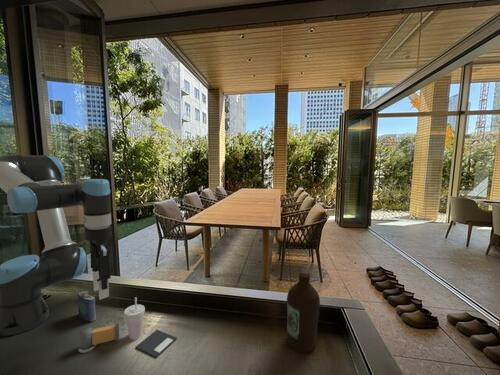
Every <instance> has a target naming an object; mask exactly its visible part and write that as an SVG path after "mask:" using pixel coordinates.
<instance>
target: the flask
mask: <svg viewBox="0 0 500 375" xmlns="http://www.w3.org/2000/svg"><path fill="white" fill-rule="evenodd" d="M77 303H78V304H77V305H78V307H77V308H78V318H79V319H80V320H83V321H85V322H87V323H94V322H96V320H97V314H96V313H97V312H96V297H95V296H93V295H90V294H89V290H87V291H86V290H83V291H80V292H78V293H77Z"/></svg>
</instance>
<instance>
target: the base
mask: <svg viewBox="0 0 500 375" xmlns="http://www.w3.org/2000/svg"><path fill="white" fill-rule="evenodd" d="M97 345H98V344H94V345H93V346H92V347H91V348H89V349H86V350H82V349H81V345H79V346H78V347H77V352H78V353H80V354H86V353H89V352H91V351H93V350H94V349H95V348H96V347H97Z"/></svg>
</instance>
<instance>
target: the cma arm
mask: <svg viewBox="0 0 500 375" xmlns="http://www.w3.org/2000/svg"><path fill="white" fill-rule="evenodd" d="M79 340H80V345H81V349H82V350H86V349H89V348H91V347H92V346H93V345H94V344H97V345H98V344H101V343H106V342H109V341H115V342H116V341H119V340H120V323H119V322H117V323H115V324H113V325H108V326H107V325H106V326H102V327H99V328H94V327H93V326H92V327H91V326H89V327H85V328H83V329H81V330H80V332H79ZM80 345H79V346H80Z"/></svg>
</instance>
